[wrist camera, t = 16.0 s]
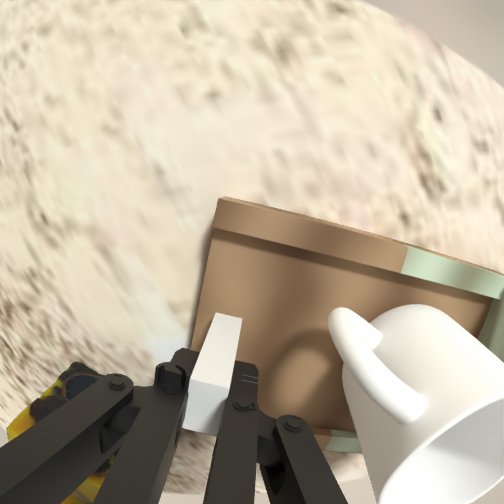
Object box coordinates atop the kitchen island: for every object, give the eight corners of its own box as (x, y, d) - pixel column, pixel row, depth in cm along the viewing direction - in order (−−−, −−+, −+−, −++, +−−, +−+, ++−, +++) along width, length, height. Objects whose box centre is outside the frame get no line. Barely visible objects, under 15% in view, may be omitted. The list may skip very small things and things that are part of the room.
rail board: (186, 399, 22) (165, 453, 16) (225, 196, 19) (206, 201, 13) (428, 432, 22) (451, 477, 16) (502, 273, 19) (552, 297, 13)
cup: (388, 425, 20) (430, 532, 10) (267, 335, 19) (262, 468, 9) (471, 346, 18) (554, 428, 8) (367, 229, 17) (470, 283, 7)
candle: (161, 475, 25) (132, 553, 15) (69, 430, 24) (21, 495, 15) (187, 410, 23) (151, 510, 13) (74, 356, 22) (2, 426, 13)
